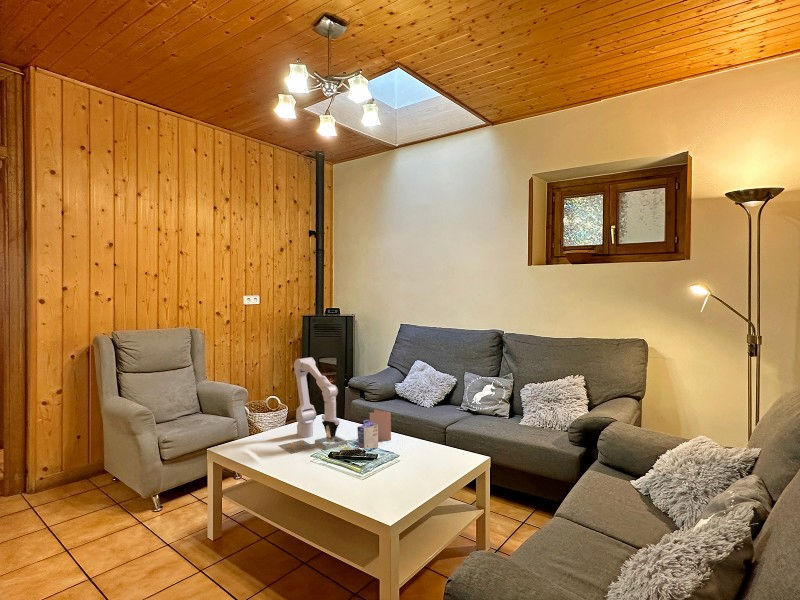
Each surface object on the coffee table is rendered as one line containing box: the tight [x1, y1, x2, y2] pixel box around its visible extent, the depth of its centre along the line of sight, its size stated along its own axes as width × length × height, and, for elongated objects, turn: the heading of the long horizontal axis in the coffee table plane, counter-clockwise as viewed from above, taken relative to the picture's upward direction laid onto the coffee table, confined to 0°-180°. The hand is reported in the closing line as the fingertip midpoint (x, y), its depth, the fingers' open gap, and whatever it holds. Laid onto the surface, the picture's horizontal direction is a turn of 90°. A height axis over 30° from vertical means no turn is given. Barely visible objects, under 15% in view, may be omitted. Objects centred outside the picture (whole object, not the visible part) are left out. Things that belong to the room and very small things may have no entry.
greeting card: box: [368, 409, 392, 441], centre depth 246 cm, size 11×7×15 cm, turn 54°
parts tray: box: [314, 434, 348, 451], centre depth 235 cm, size 12×12×4 cm
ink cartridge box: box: [357, 419, 379, 449], centre depth 231 cm, size 10×6×14 cm, turn 136°
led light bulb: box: [325, 425, 335, 444], centre depth 235 cm, size 4×4×8 cm
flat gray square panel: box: [277, 439, 318, 455], centre depth 232 cm, size 16×14×4 cm
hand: (330, 435), depth 235 cm, fingers closed on led light bulb, 4 cm apart
